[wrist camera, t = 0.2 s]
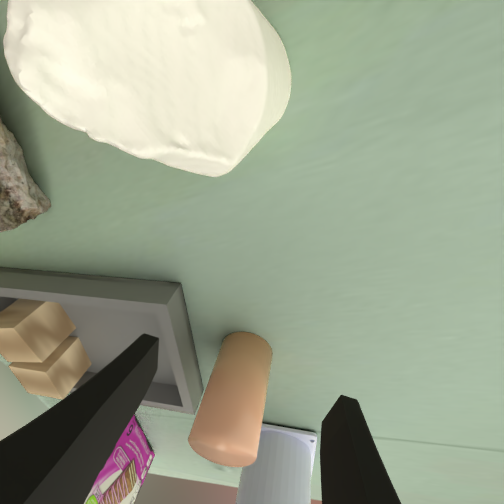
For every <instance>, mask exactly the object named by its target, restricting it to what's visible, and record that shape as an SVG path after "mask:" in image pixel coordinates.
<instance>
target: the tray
mask: <svg viewBox="0 0 504 504" xmlns="http://www.w3.org/2000/svg"><path fill="white" fill-rule="evenodd" d="M19 298H20V299H29V300H38V301H47V302H56V303H59V304H60V305H61V306H62V308H63V309H64V311H65V312H66V314H67V315H68V317H69V318H70V319H71V321H72V322H73V324H74V325H75V327H76V329H75V330H74V331H73V332H72V333H71V334H70V335H69V336H72V337H78V338H79V339H80V341H81V343H82V345H83V347H84V349H85V351H86V353H87V355H88V357H89V359H90V361H91V363H92V364H91V366H90V367H89V368H88V369H87V371H86V372H85V373H84V374H83V376H82V377H81V378H80V379H79V381H78V382H77V383H76V384H75V386H74V387H73V388H72V389H71V391H70V393H72V392H74V391H75V390H76V389H78V388H79V387H80V386H82V385H83V384H84V383H86V382H87V381H88V380H89V379H91V378H92V377H93V376H94V375H96V374H97V373H98V372H99V371H100V370H102V369H103V368H104V367H105V366H107V365H108V364H109V363H110V362H111V361H113V360H114V359H115V358H116V357H117V356H118V355H120V354H121V353H122V352H123V351H124V350H125V349H126V348H127V347H129V346H130V345H131V344H132V343H133V342H134V341H135V340H136V339H137V338H138V337H139V336H140V335H142V334H144V333H145V334H148V335H151V336H155V337H158V338H159V350H158V369H157V372H156V374H155V376H154V378H153V380H152V382H151V385H150V387H149V389H148V391H147V393H146V395H145V397H144V398H143V400H142V402H141V403H140V405H143V406H149V407H154V408H160V409H165V410H171V411H177V412H182V413H188V414H194V415H195V412H196V410H197V407H198V404H199V401H200V399H201V396H202V393H203V385H202V380H201V375H200V371H199V366H198V361H197V356H196V352H195V347H194V342H193V337H192V333H191V328H190V323H189V318H188V314H187V309H186V304H185V299H184V295H183V290H182V285H181V283H175V282H164V281H152V280H141V279H129V278H118V277H107V276H95V275H84V274H72V273H61V272H50V271H38V270H27V269H15V268H4V267H0V312H1V311H3V310H4V309H5V308H7V307H8V306H10V305H11V304H12V303H14V302H15V301H16V300H18V299H19Z"/></svg>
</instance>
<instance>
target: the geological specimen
mask: <svg viewBox="0 0 504 504" xmlns="http://www.w3.org/2000/svg"><path fill="white" fill-rule="evenodd" d="M50 207H51V203H50V200H49V198H48V197H47V196H46V195H45V194H44V193H43V192H42V191H41V190H40V188H39V187H38V185H37V184H35V183H34V181H33V179H32V178H31V177H30V175H29V172H28V169H27V166H26V163H25V161H24V156H23V150H22V148H21V146H20V145H19V144H18V143H17V140H16V139H15V137H14V136H13V133H12V132H10V131H8V129H7V128H6V126H5V124H3V123H2V121H1V117H0V232H3V231H7V230H12V229H14V228H16V227H18V226H19V225H20V224H23V223H25V222H27V220H29V219H35V218H36V216H37V215H39V214H41V213H44V212H46V211H47V210H48V208H50Z"/></svg>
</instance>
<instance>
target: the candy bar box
mask: <svg viewBox="0 0 504 504" xmlns="http://www.w3.org/2000/svg"><path fill="white" fill-rule="evenodd" d="M154 456H155V454H154V452H153V450H152V449H151V447H150V445H149V443H148V441H147V439H146V437H145V435H144V433H143V431H142V429H141V427H140V425H139V423H138V421H137V419H136V417H135V415H133V417H132V418H131V420H130V422H129V423H128V425H127V427H126V428H125V430H124V432H123V433H122V435H121V437H120V438H119V440H118V442H117V443H116V445H115V447H114V448H113V450H112V452H111V453H110V455H109V457H108V458H107V460H106V462H105V464H104V465H103V467H102V469H101V471H100V473H99V475H98V477H97V479H96V481H95V483H94V485H93V487H92V489H91V491H90V493H89V494H88V496H87V498H86V500H85V502H84V504H134V503H135V500H136V498H137V496H138V493H139V491H140V488H141V486H142V484H143V482H144V479H145V477H146V474H147V472H148V470H149V468H150V465H151V463H152V461H153V458H154Z"/></svg>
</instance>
